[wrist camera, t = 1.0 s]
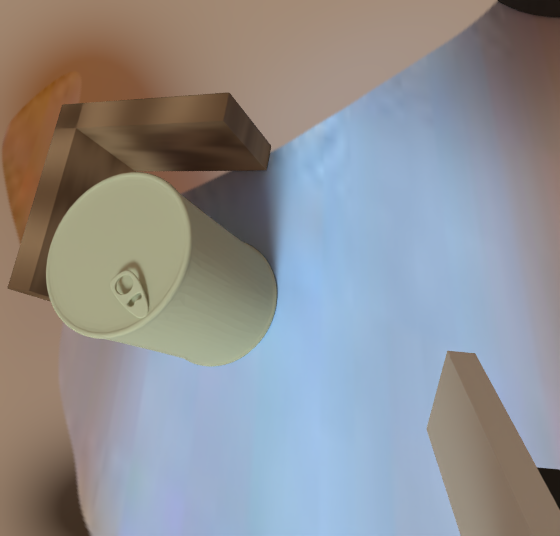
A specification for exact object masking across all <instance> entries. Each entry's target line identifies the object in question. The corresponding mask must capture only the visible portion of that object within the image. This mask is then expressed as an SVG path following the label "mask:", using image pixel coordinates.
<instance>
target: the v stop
mask: <svg viewBox="0 0 560 536" xmlns="http://www.w3.org/2000/svg"><path fill="white" fill-rule="evenodd" d="M270 150H271V145H270V144H269V143H268V141H267V140H266V139H265V137H264V136H263V135H262V134H261V132H260V131H259V130H258V129H257V127H256V126H255V125H254V123H253V122H252V121H251V120H250V119H249V117H248V116H247V115H246V113H245V112H244V111H243V109H242V108H241V107H240V106H239V104H238V103H237V102H236V100H235V99H234V98H233V97H232V95H231V94H230V93H216V94H203V95H189V96H175V97H161V98H148V99H134V100H120V101H106V102H93V103H79V104H65V105H62V107H61V111H60V114H59V118H58V121H57V124H56V128H55V131H54V134H53V138H52V141H51V144H50V148H49V151H48V154H47V158H46V161H45V164H44V168H43V171H42V174H41V178H40V181H39V184H38V188H37V191H36V195H35V198H34V201H33V205H32V208H31V211H30V215H29V218H28V221H27V225H26V228H25V231H24V235H23V238H22V241H21V245H20V248H19V252H18V255H17V258H16V261H15V265H14V268H13V272H12V275H11V278H10V282H9V285H8V289H11V290H14V291H18V292H21V293H24V294H27V295H31V296H34V297H38V298H41V299H44V300H47V301H50V298H49V294H48V290H47V282H46V266H47V258H48V253H49V249H50V245H51V242H52V239H53V237H54V234H55V232H56V230H57V228H58V226H59V224H60V222H61V220H62V219H63V217H64V216H65V214H66V213H67V211H68V210H69V208H70V207H71V206H72V205H73V204H74V203H75V202H76V200H77V199H78V198H79V197H80V196H82V195H83V194H84V193H85V192H86V191H87V190H88V189H90V188H91V187H93V186H94V185H96V184H97V183H99V182H101V181H103V180H105V179H107V178H109V177H112V176H115V175H118V174H122V173H128V172H135V171H251V170H267V165H268V160H269V155H270ZM50 302H51V301H50Z"/></svg>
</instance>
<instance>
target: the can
mask: <svg viewBox="0 0 560 536" xmlns="http://www.w3.org/2000/svg"><path fill="white" fill-rule="evenodd" d="M46 282H47V290H48V294H49V298H50V301H51V303H52V305H53V308H54V310H55V312H56V313H57V315H58V316H59V317H60V319H61V320H62V321H63V322H64V323H65V324H66V325H67V326H68V327H70V328H71V329H72V330H74V331H76V332H77V333H79V334H82V335H84V336H88V337H92V338H98V339H107V340H112V341H116V342H120V343H125V344H129V345H133V346H137V347H141V348H145V349H149V350H153V351H158V352H161V353H165V354H169V355H173V356H177V357H181V358H184V359H186V360H188V361H189V362H192V363H194V364H197V365H202V366H220V365H225V364H228V363H232V362H234V361H236V360H238V359H240V358H242V357H243V356H245V355H246V354H248V353H249V352H250V351H251V350H252V349H253V348H255V347H256V345H257V344H258V343H259V342H260V341H261V340H262V338H263V337H264V335H265V334H266V332H267V330H268V328H269V327H270V324H271V322H272V319H273V316H274V313H275V309H276V302H277V288H276V282H275V277H274V274H273V271H272V269H271V267H270V265H269V263H268V262H267V260H266V259H265V257H264V256H263V255H262V254H261V253H260V252H259V251H258V250H257V249H255V248H254V247H252V246H251V245H249V244H247V243H245V242H242V241H241V240H239V239H238V238H237V237H235V236H234V235H232V234H231V233H230V232H228V231H227V230H226V229H225V228H223V227H222V226H221V225H219V224H218V223H217V222H215V221H214V220H213V219H211V218H210V217H209V216H208V215H206V214H205V213H204V212H202V211H201V210H200V209H199V208H197V207H196V206H195V205H193V204H192V203H191V202H190V201H188V200H187V199H186V198H185V197H183V196H182V195H181V194H180V193H179V192H178V191H177V190H176V189H175V188H174V187H173V186H172V185H171V184H169V183H168V182H167V181H165V180H164V179H162V178H160V177H157V176H155V175H152V174H148V173H143V172H128V173H122V174H118V175H115V176H112V177H109V178H107V179H105V180H103V181H101V182H99V183H97V184H96V185H94V186H93V187H91V188H90V189H88V190H87V191H86V192H85V193H84V194H83V195H82V196H80V197H79V198H78V199H77V200H76V202H75V203H74V204H73V205H72V206H71V207H70V208H69V210H68V211H67V213H66V214H65V216H64V217H63V219H62V220H61V222H60V224H59V226H58V228H57V230H56V232H55V234H54V237H53V239H52V242H51V245H50V249H49V253H48V258H47V266H46Z"/></svg>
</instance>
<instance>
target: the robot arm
mask: <svg viewBox="0 0 560 536" xmlns="http://www.w3.org/2000/svg"><path fill="white" fill-rule="evenodd" d="M498 1H500V2H501V3H503V4H505V5H507V6H509V7H511V8H514V9H517V10H519V11H523V12H526V13H530V14H535V15H541V16H549V17H560V0H498ZM427 432H428V435H429V438H430V441H431V444H432V448H433V451H434V454H435V457H436V460H437V463H438V466H439V469H440V472H441V475H442V479H443V482H444V485H445V488H446V491H447V494H448V497H449V500H450V503H451V507H452V510H453V513H454V516H455V519H456V522H457V525H458V528H459V531H460V534H461V536H560V470H558V469H547V468H537V467H536V465H535V463H534V461H533V460H532V458H531V456H530V454H529V452H528V450H527V449H526V447H525V445H524V443H523V441H522V439H521V437H520V436H519V434H518V432H517V430H516V428H515V426H514V424H513V423H512V421H511V419H510V417H509V415H508V413H507V412H506V410H505V408H504V406H503V404H502V402H501V400H500V399H499V397H498V395H497V393H496V391H495V389H494V388H493V386H492V384H491V382H490V380H489V378H488V376H487V375H486V373H485V371H484V369H483V367H482V365H481V363H480V362H479V360H478V358H477V356H476V354H475V353H465V352H454V351H447V354H446V358H445V362H444V366H443V369H442V373H441V377H440V381H439V384H438V388H437V392H436V396H435V399H434V403H433V407H432V410H431V414H430V418H429V422H428V425H427Z"/></svg>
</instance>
